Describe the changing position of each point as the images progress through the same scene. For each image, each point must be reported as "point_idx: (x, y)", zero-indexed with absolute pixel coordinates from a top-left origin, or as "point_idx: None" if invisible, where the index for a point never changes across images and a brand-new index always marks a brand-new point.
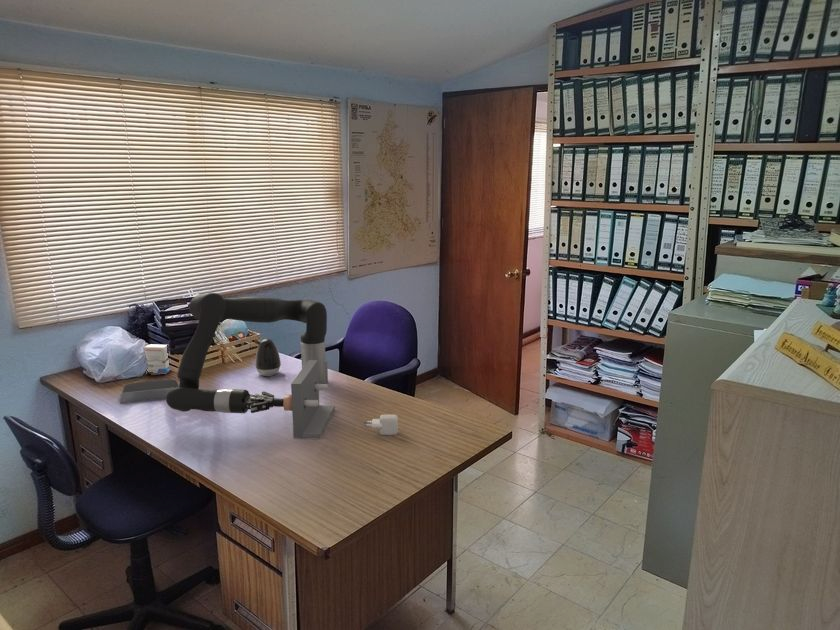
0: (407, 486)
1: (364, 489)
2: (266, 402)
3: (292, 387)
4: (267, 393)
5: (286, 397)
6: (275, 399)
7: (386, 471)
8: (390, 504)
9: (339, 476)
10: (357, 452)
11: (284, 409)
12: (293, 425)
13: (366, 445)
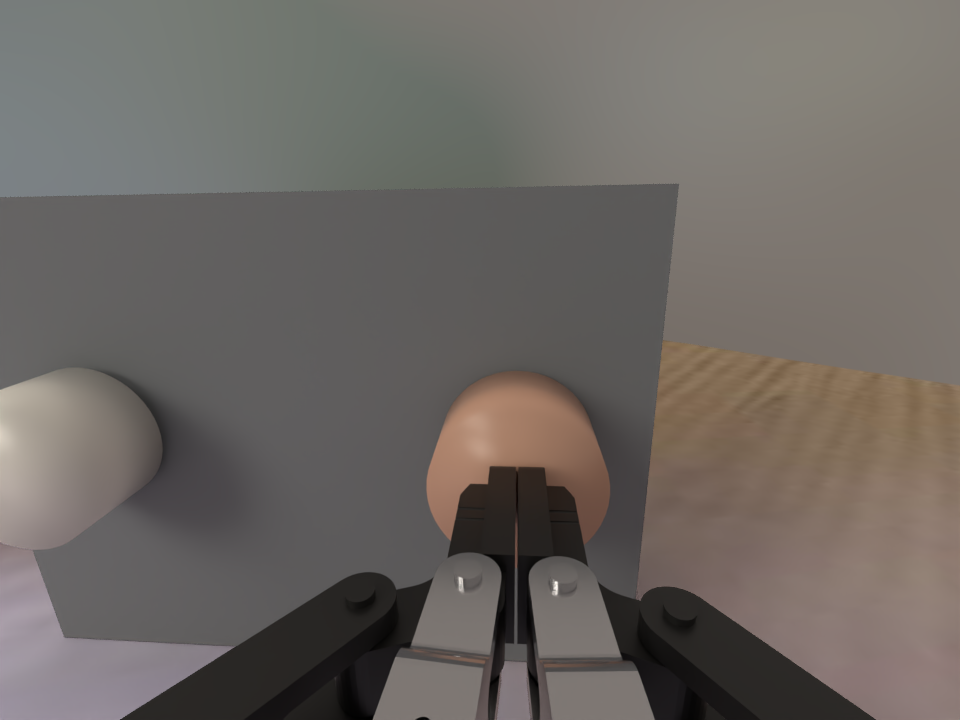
0: (803, 368)
1: (902, 409)
2: (715, 620)
3: (670, 227)
4: (171, 715)
5: (563, 407)
6: (525, 536)
7: (758, 388)
8: (916, 381)
9: (892, 450)
10: (675, 430)
11: (585, 539)
12: (637, 576)
13: None
